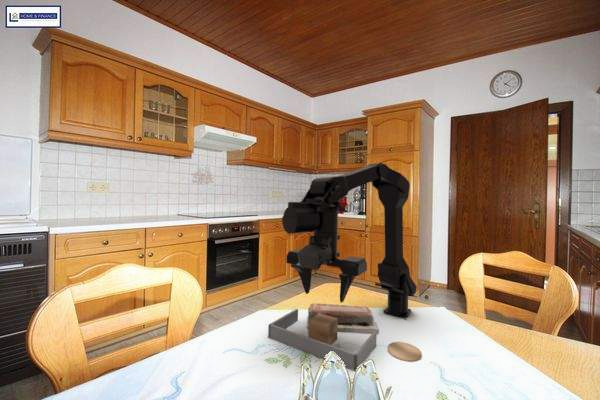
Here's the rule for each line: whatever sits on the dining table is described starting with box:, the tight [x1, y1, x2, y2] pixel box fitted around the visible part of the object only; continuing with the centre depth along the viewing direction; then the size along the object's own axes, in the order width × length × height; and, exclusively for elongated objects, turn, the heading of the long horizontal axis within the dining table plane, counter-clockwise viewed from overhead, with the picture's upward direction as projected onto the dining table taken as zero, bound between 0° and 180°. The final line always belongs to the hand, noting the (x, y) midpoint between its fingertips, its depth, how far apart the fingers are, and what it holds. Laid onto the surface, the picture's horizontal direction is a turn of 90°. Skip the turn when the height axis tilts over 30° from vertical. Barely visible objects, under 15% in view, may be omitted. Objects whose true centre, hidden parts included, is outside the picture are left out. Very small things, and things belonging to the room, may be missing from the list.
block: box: [307, 313, 338, 346], centre depth 66 cm, size 5×5×5 cm
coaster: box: [387, 341, 423, 362], centre depth 61 cm, size 7×7×1 cm
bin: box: [267, 308, 378, 372], centre depth 65 cm, size 12×22×3 cm, turn 56°
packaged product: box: [306, 302, 380, 335], centre depth 75 cm, size 18×5×10 cm
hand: (323, 297), depth 66 cm, fingers open, 9 cm apart
